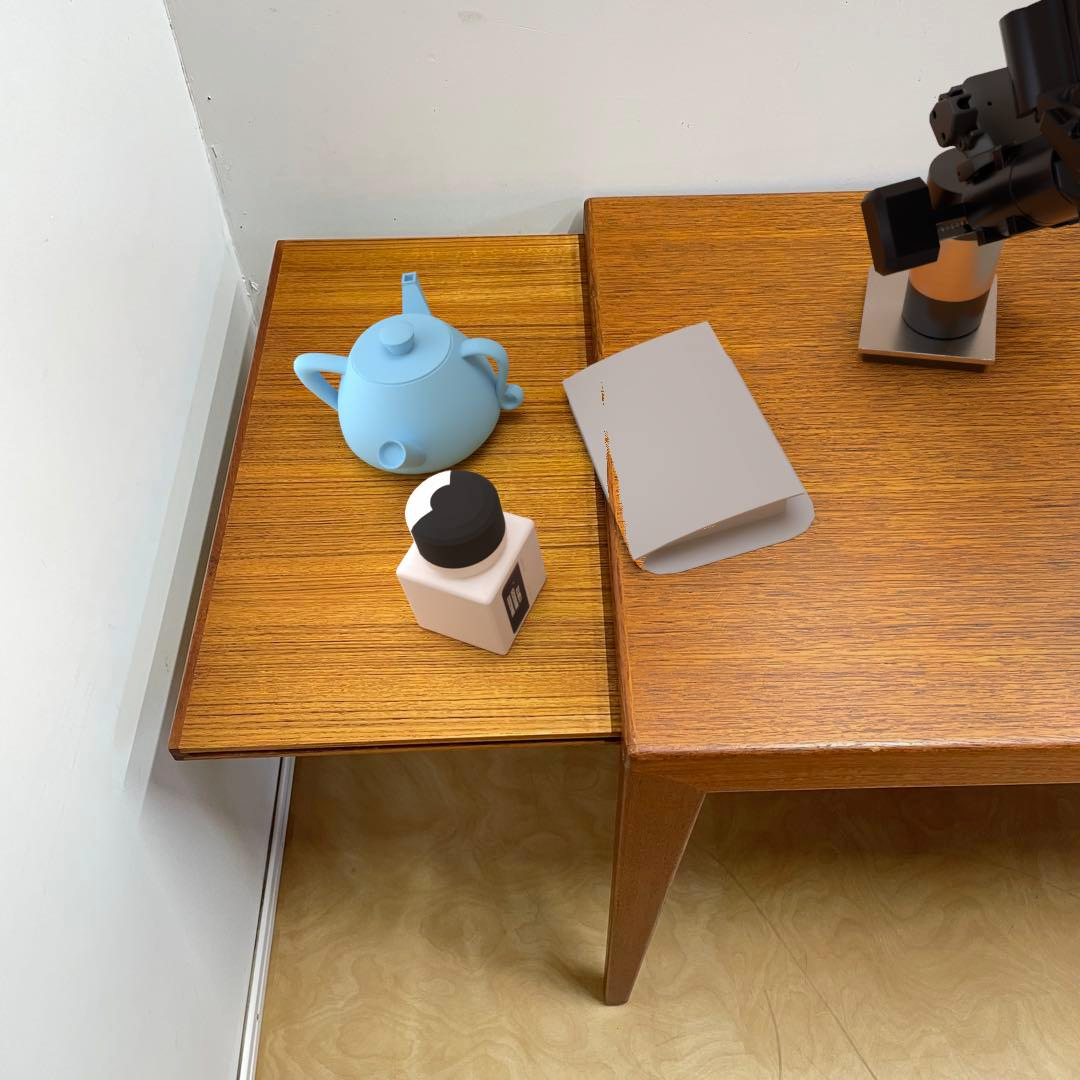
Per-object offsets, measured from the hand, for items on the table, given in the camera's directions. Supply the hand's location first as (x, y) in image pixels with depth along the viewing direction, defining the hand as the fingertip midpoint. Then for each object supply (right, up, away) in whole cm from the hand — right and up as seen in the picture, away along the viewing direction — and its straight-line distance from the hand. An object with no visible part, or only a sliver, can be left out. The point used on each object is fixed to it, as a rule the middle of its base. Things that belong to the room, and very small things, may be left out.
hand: (939, 223), depth 81 cm
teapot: (-43, -16, +8) cm, 47 cm away
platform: (+2, -7, +7) cm, 10 cm away
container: (-37, -31, -4) cm, 48 cm away
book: (-21, -19, +3) cm, 28 cm away
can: (+2, -6, +5) cm, 8 cm away
